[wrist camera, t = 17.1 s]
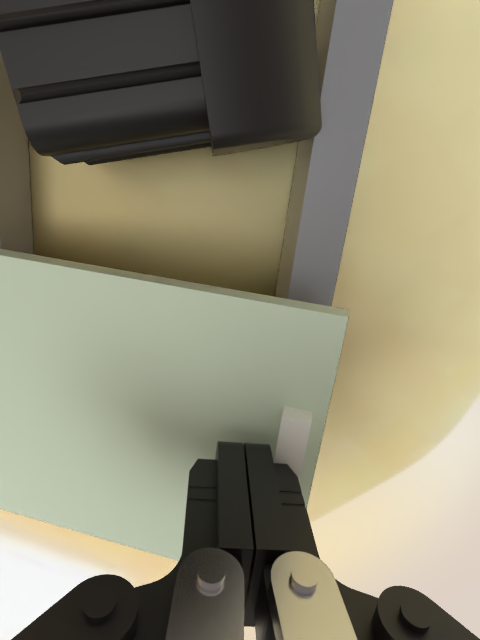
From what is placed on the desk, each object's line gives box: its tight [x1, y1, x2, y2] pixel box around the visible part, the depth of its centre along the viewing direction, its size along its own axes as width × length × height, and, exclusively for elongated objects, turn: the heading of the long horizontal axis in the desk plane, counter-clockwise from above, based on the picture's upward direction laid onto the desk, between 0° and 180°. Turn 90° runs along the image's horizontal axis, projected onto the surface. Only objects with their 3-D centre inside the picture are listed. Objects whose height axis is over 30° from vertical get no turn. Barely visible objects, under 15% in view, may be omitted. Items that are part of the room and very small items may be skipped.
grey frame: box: [0, 0, 393, 306], centre depth 14 cm, size 13×26×2 cm, turn 173°
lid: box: [0, 249, 348, 561], centre depth 13 cm, size 12×10×1 cm
